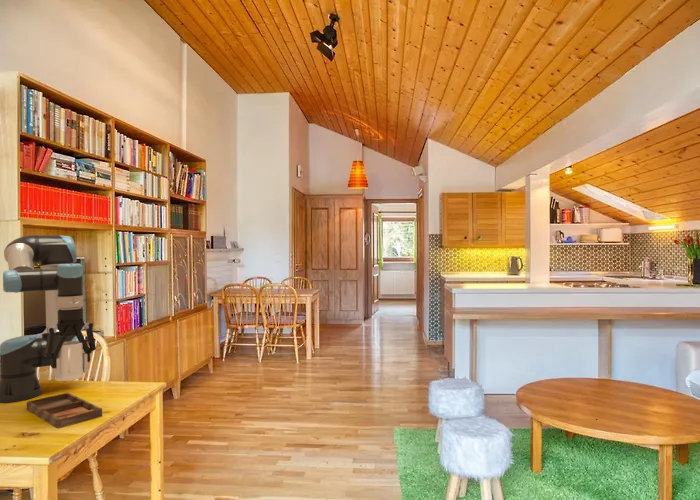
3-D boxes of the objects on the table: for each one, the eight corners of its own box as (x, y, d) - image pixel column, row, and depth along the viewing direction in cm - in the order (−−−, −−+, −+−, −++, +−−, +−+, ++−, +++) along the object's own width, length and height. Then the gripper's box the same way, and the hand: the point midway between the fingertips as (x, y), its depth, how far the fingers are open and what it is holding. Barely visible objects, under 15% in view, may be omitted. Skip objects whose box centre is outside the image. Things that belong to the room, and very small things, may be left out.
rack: (26, 408, 166) (26, 400, 166) (68, 399, 177) (68, 391, 177) (57, 428, 147) (57, 419, 147) (102, 416, 158) (102, 407, 158)
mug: (81, 381, 153) (81, 345, 153) (51, 384, 150) (51, 348, 150) (85, 373, 164) (84, 339, 164) (57, 376, 160) (56, 342, 160)
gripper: (39, 312, 147) (40, 383, 147) (106, 306, 163) (107, 370, 163) (31, 310, 152) (32, 379, 152) (97, 304, 168) (98, 367, 168)
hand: (71, 374), depth 157 cm, fingers closed on mug, 8 cm apart
